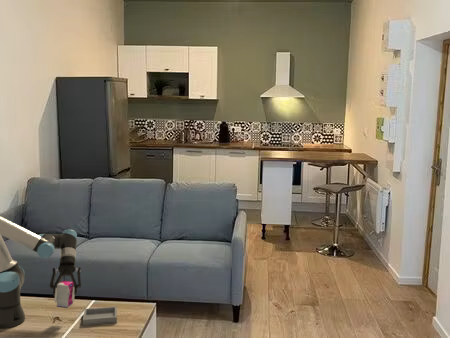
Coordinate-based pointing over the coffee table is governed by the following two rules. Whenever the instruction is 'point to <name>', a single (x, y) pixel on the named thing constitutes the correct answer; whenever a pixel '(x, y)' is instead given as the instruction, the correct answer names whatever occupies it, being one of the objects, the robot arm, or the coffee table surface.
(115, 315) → the tray
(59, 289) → the supplement box
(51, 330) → the coffee table surface
